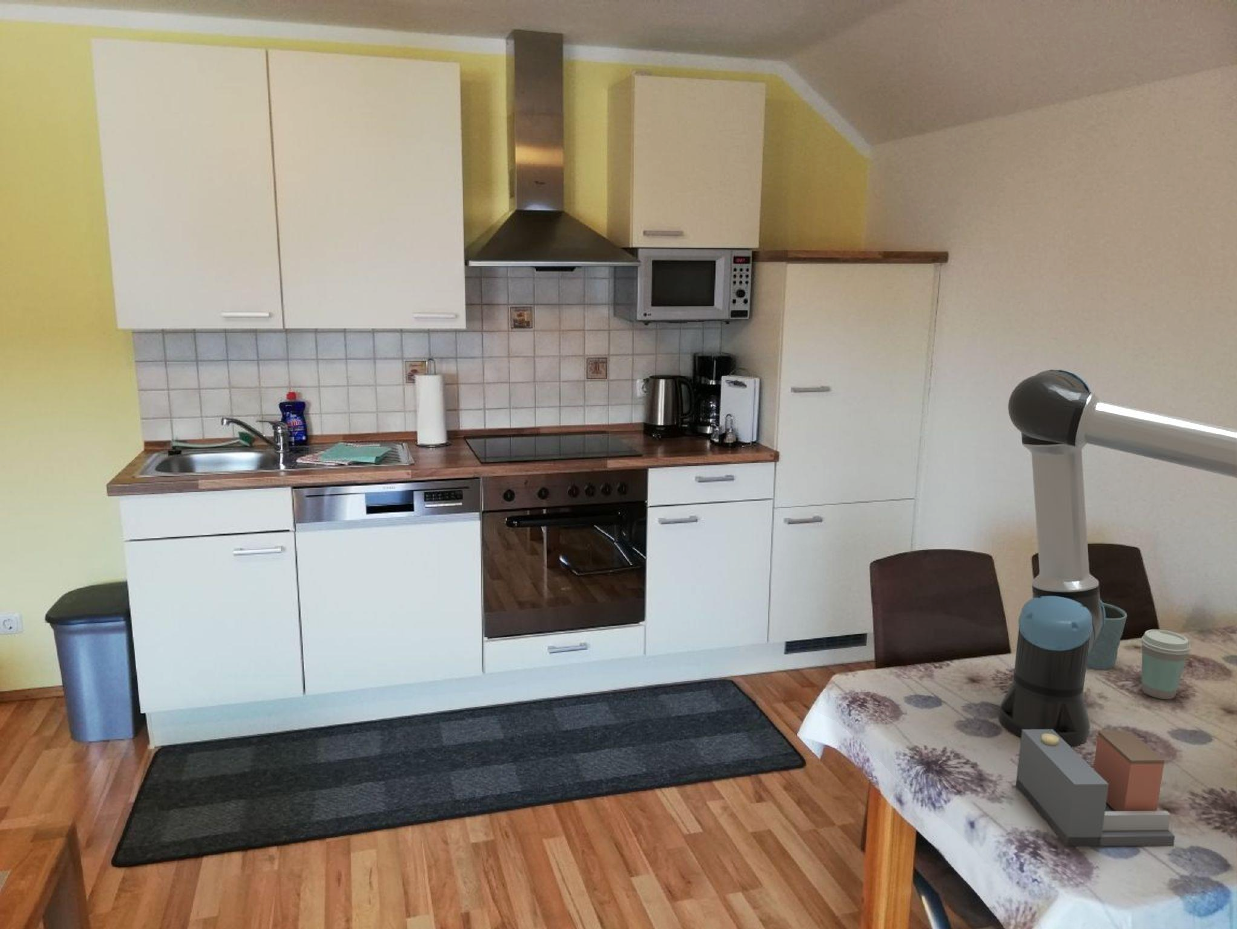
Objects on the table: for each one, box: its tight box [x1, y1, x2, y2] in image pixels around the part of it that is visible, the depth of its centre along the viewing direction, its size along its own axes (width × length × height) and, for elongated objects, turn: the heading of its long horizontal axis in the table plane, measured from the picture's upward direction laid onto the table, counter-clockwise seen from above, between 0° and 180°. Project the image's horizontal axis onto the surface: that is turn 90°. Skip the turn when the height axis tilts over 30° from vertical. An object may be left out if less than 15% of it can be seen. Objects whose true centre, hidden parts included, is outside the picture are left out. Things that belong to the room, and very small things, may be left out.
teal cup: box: [1086, 602, 1128, 671], centre depth 195 cm, size 10×10×12 cm
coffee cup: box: [1140, 629, 1191, 700], centre depth 181 cm, size 8×8×12 cm
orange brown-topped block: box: [1092, 730, 1165, 811], centre depth 139 cm, size 5×9×10 cm, turn 2°
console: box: [1015, 729, 1176, 847], centre depth 139 cm, size 16×16×11 cm
